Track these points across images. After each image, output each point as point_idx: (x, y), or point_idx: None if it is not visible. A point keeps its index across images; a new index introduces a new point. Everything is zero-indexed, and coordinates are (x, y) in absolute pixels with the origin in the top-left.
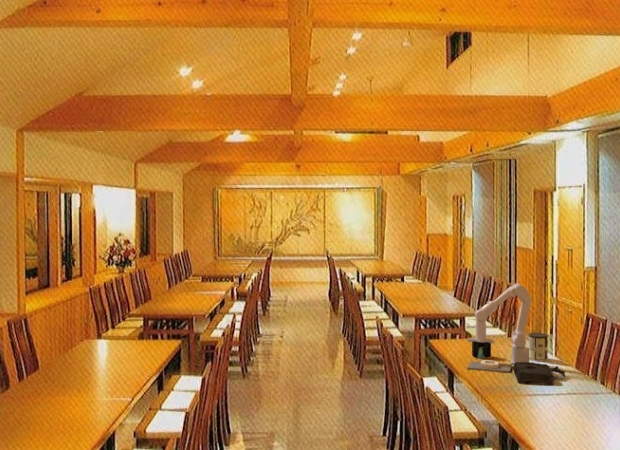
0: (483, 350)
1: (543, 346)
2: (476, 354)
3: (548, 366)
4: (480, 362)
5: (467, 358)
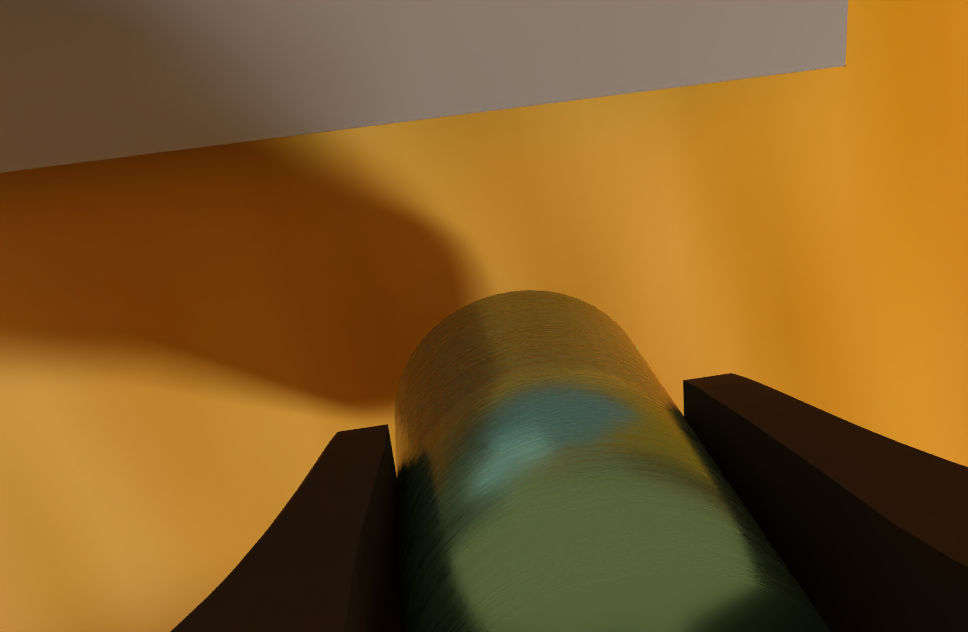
0: (421, 589)
1: None
2: (741, 380)
3: None
4: (446, 19)
5: None
